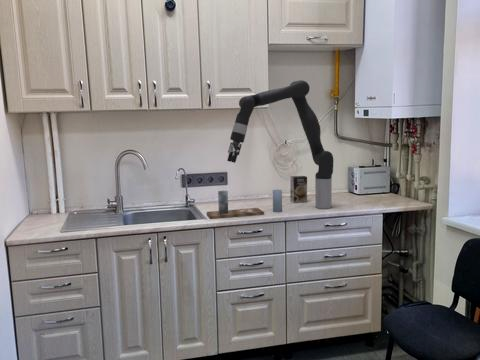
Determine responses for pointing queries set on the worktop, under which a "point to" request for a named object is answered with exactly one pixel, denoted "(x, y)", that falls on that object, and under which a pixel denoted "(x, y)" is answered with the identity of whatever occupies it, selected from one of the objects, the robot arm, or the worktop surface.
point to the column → (277, 200)
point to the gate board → (227, 213)
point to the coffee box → (298, 189)
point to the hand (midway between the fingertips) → (231, 161)
